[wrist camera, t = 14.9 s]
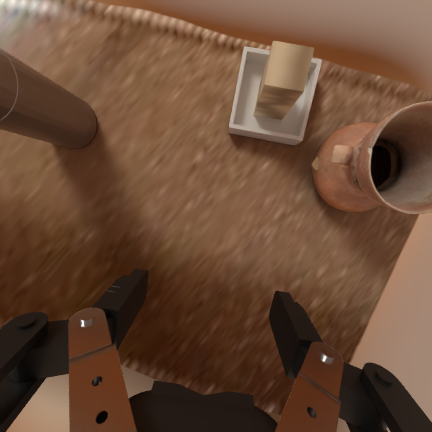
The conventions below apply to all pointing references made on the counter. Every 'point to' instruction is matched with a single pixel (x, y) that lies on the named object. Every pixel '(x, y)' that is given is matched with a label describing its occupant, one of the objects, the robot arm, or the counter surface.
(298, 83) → the block
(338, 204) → the ceramic jug
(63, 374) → the robot arm
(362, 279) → the counter surface
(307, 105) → the tray
